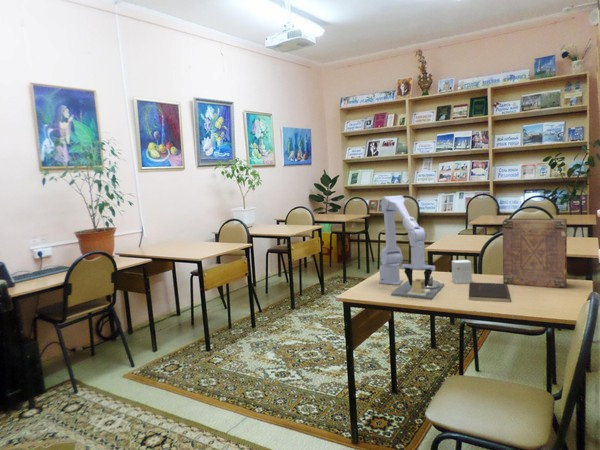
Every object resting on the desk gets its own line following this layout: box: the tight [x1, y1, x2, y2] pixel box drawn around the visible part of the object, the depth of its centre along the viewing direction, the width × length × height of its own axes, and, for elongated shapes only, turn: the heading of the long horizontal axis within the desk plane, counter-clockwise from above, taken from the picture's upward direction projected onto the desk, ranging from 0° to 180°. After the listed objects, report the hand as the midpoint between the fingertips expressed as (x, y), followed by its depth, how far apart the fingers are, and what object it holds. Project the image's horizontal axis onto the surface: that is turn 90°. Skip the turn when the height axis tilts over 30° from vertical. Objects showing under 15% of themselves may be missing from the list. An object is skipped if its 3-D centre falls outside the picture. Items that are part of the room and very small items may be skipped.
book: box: [502, 218, 568, 290], centre depth 195 cm, size 25×9×30 cm, turn 58°
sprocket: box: [425, 275, 440, 289], centre depth 200 cm, size 13×13×5 cm
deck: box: [390, 280, 445, 300], centre depth 197 cm, size 18×24×1 cm
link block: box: [412, 278, 425, 293], centre depth 190 cm, size 4×6×5 cm, turn 149°
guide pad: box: [407, 289, 430, 296], centre depth 191 cm, size 8×9×1 cm
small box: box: [451, 259, 473, 285], centre depth 207 cm, size 8×6×10 cm
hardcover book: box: [468, 281, 512, 303], centre depth 186 cm, size 16×23×2 cm
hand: (418, 285), depth 190 cm, fingers open, 6 cm apart
